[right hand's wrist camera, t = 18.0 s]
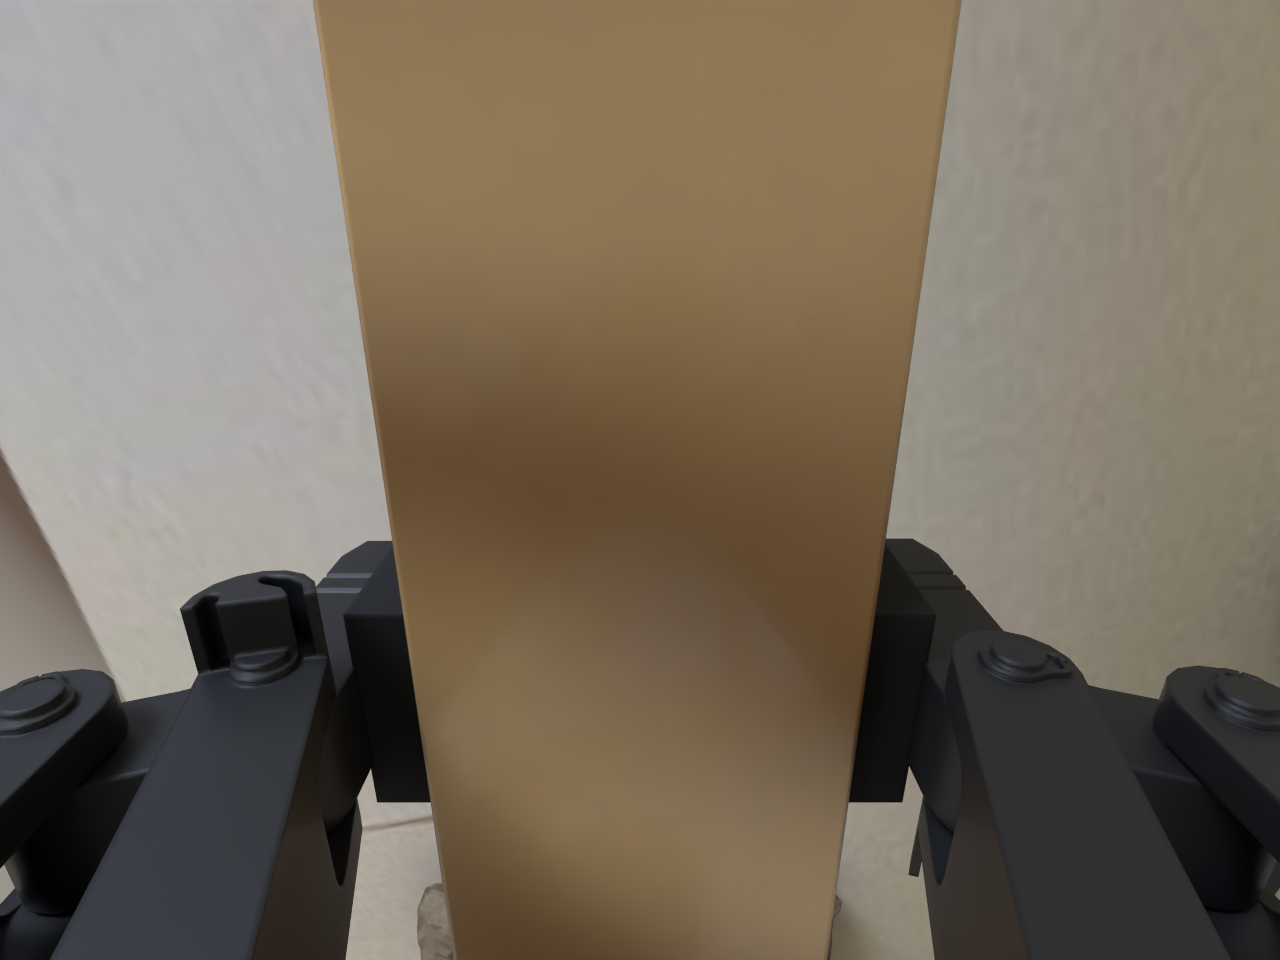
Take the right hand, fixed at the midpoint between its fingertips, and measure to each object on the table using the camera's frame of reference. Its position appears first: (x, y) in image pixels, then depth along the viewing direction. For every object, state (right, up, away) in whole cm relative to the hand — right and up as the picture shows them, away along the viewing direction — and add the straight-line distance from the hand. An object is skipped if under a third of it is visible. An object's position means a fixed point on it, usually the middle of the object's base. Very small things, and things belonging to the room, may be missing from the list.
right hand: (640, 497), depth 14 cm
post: (0, +23, -8) cm, 25 cm away
